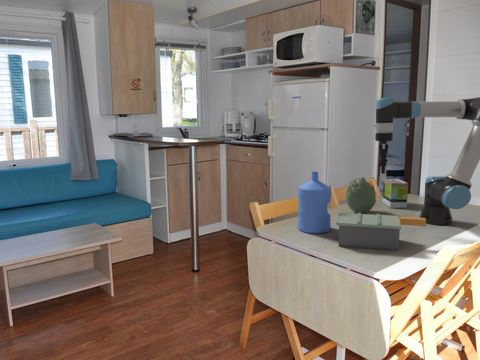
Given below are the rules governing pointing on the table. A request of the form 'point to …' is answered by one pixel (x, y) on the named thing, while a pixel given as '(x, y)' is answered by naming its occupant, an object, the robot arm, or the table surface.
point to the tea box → (395, 193)
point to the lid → (377, 221)
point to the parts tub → (369, 238)
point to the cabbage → (360, 195)
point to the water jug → (314, 206)
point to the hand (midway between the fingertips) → (382, 178)
